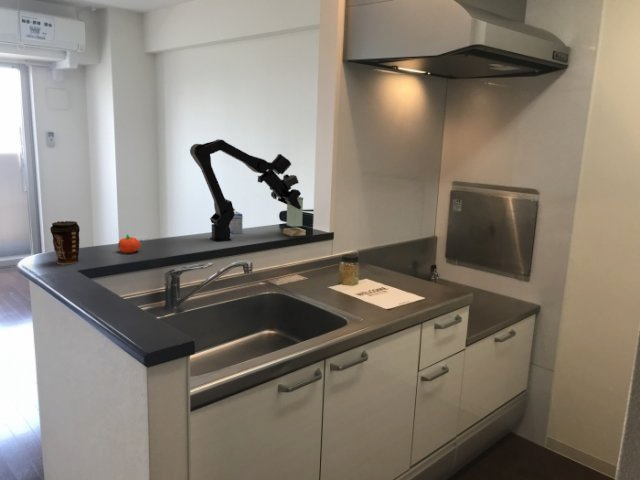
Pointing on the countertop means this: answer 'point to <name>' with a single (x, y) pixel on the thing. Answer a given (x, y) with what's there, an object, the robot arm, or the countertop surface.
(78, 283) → the countertop surface
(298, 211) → the tea tin
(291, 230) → the oak block
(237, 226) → the medicine box
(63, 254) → the coffee cup
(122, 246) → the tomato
